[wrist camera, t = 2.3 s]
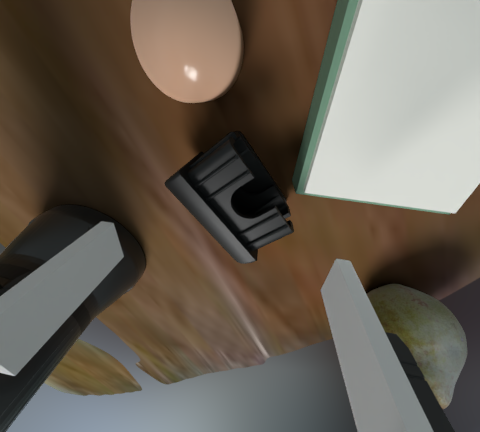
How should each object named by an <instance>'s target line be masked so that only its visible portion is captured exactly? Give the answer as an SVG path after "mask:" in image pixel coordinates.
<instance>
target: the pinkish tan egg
mask: <svg viewBox="0 0 480 432" xmlns="http://www.w3.org/2000/svg"><path fill="white" fill-rule="evenodd" d="M130 16H131V34H132V39H133V44H134V47H135V51H136V54H137V56H138V59H139V61H140V63H141V65H142V67H143V69H144V71H145V73H146V74H147V76H148V77H149V78H150V80H151V81H152V82H153V83H154V84H155V86H156V87H157V88H158V89H160V90H161V91H162V92H163V93H164V94H166V95H167V96H169V97H171V98H173V99H175V100H178V101H181V102H186V103H198V102H208V101H213V100H216V99H218V98H220V97H222V96H223V95H225V94H226V93H227V92H228V91H229V90H230V89H231V88H232V86H233V85H234V83H235V82H236V80H237V78H238V76H239V73H240V70H241V67H242V63H243V56H244V42H243V34H242V29H241V26H240V23H239V20H238V17H237V15H236V12H235V9H234V6H233V4H232V1H231V0H132V5H131V15H130Z"/></svg>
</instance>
